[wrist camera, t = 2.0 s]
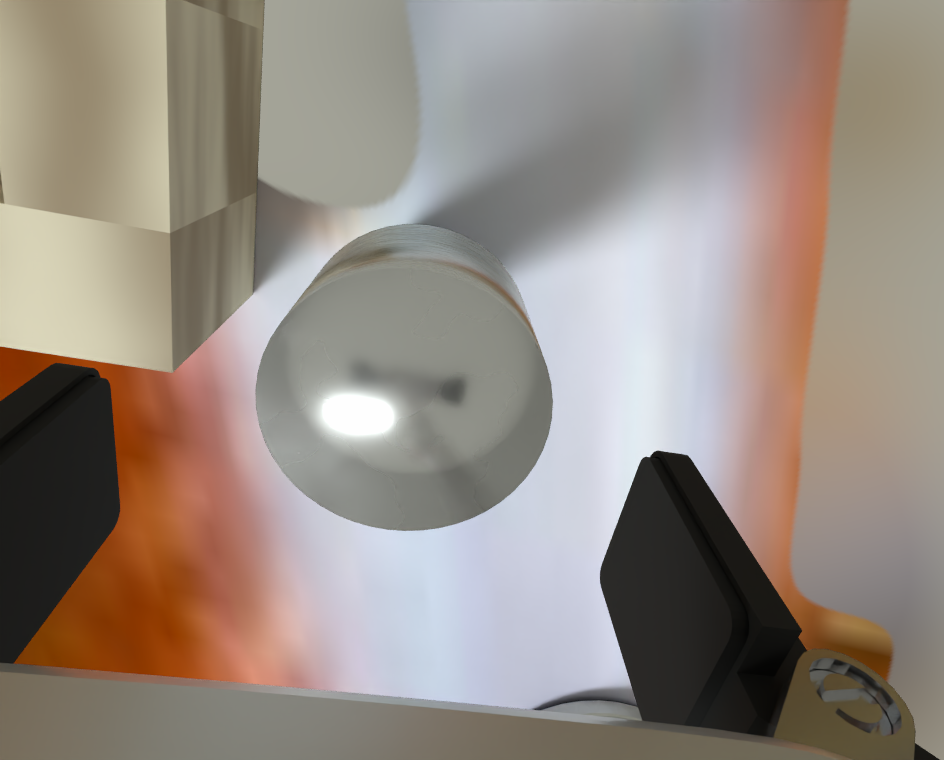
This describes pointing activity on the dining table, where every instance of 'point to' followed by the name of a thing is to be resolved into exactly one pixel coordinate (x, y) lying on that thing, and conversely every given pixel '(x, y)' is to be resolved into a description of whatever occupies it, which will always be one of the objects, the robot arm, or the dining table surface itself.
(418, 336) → the silver metal cylinder
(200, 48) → the block
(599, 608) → the dining table surface
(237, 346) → the dining table surface
